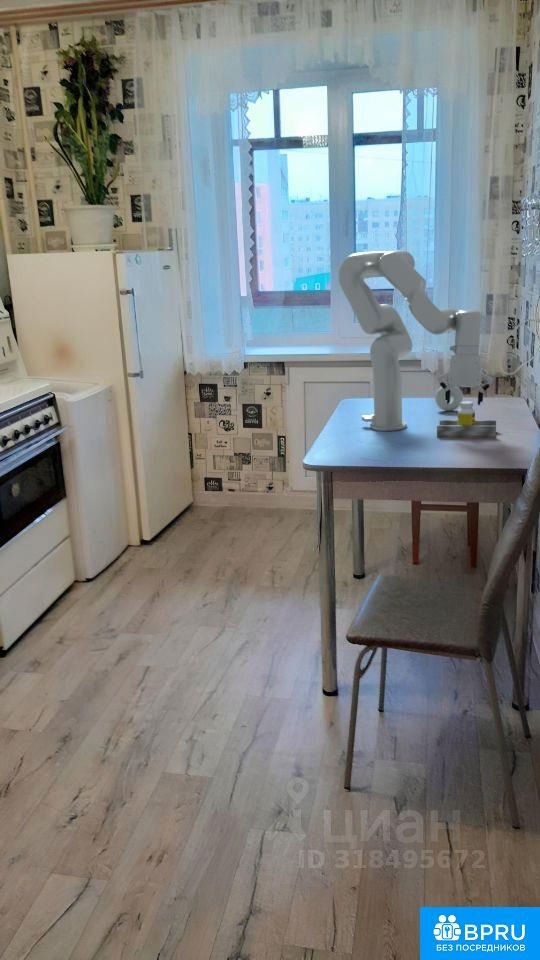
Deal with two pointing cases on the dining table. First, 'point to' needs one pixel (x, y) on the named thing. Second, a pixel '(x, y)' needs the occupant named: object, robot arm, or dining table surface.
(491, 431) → the track
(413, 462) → the dining table surface
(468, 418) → the supplement bottle
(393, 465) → the dining table surface
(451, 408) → the donut
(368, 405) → the dining table surface
